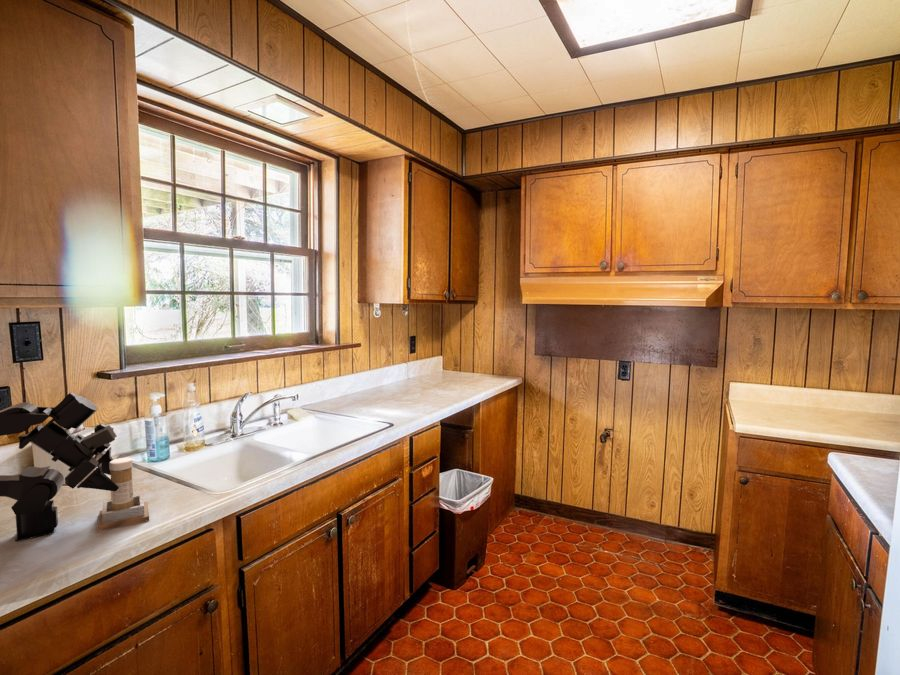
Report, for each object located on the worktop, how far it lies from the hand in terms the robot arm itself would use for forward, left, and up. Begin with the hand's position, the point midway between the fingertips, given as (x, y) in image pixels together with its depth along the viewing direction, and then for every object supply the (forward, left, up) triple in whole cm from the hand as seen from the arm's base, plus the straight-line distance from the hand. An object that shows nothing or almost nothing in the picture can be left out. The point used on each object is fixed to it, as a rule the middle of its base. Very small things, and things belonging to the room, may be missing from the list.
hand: (120, 482), depth 115 cm
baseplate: (0, 0, -9) cm, 9 cm away
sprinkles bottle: (0, 0, -8) cm, 8 cm away
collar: (0, 0, -9) cm, 9 cm away
